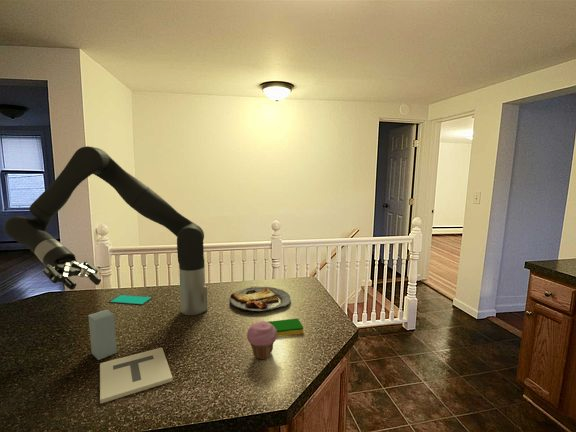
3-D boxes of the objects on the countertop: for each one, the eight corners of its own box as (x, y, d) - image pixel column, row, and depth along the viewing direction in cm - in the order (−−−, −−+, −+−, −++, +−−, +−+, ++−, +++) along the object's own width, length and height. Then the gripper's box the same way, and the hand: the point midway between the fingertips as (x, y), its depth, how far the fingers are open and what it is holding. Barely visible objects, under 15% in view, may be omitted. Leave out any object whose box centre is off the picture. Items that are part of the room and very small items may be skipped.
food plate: (241, 319, 114) (241, 310, 114) (221, 297, 135) (221, 289, 134) (300, 307, 127) (300, 299, 126) (274, 289, 147) (274, 281, 146)
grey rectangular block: (109, 346, 97) (106, 309, 95) (116, 352, 93) (114, 314, 92) (91, 353, 93) (88, 315, 91) (98, 360, 90) (95, 320, 88)
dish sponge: (259, 328, 109) (259, 322, 109) (297, 324, 112) (298, 318, 112) (262, 339, 102) (262, 332, 102) (303, 334, 106) (303, 327, 105)
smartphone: (120, 294, 135) (152, 297, 133) (120, 296, 135) (153, 299, 133) (108, 301, 128) (142, 304, 126) (108, 303, 128) (142, 306, 126)
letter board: (162, 350, 95) (162, 347, 94) (172, 381, 81) (172, 377, 81) (100, 366, 87) (100, 363, 86) (100, 403, 73) (100, 399, 73)
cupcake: (272, 366, 87) (272, 332, 86) (242, 361, 90) (242, 328, 88) (280, 349, 96) (280, 318, 95) (253, 345, 98) (253, 314, 97)
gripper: (36, 246, 94) (70, 278, 90) (80, 244, 108) (111, 271, 104) (26, 267, 95) (59, 299, 91) (70, 262, 109) (101, 290, 105)
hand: (87, 284), depth 97 cm, fingers open, 8 cm apart
